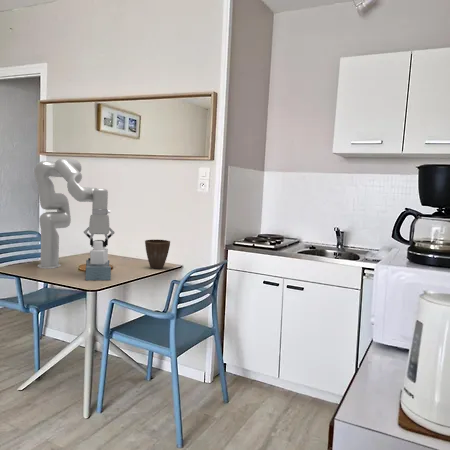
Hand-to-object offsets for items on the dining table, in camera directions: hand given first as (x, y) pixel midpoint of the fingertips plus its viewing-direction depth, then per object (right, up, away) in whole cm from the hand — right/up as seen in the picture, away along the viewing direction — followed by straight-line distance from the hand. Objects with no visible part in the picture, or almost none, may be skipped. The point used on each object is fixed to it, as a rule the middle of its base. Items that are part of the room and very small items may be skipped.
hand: (98, 246), depth 222 cm
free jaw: (-4, -13, +10) cm, 17 cm away
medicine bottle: (0, -9, +1) cm, 9 cm away
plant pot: (+25, -15, +32) cm, 43 cm away
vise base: (-1, -15, +3) cm, 16 cm away
